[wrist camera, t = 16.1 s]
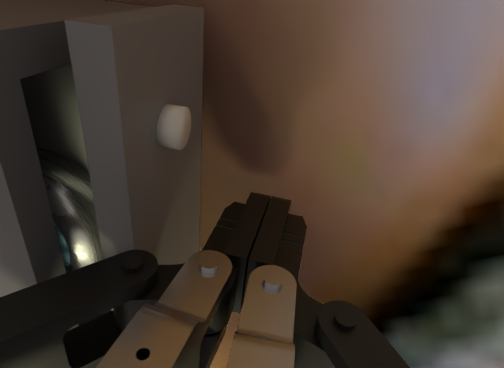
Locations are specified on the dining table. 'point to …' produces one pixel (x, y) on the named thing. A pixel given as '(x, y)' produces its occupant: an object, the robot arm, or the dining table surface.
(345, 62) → the dining table surface
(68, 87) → the tray
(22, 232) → the block
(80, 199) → the disc
